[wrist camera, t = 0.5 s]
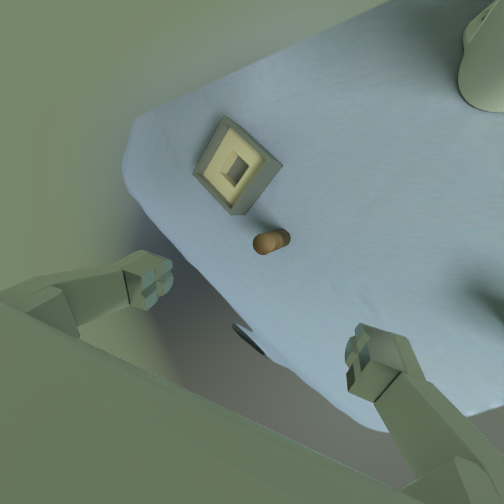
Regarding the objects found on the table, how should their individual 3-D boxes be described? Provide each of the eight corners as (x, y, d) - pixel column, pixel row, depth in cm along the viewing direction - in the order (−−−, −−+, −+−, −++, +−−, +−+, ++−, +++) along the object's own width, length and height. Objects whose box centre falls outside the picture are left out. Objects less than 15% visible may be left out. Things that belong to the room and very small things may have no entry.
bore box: (240, 126, 53) (224, 114, 47) (283, 165, 49) (271, 158, 43) (209, 177, 60) (192, 173, 54) (245, 215, 57) (230, 215, 51)
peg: (281, 225, 52) (261, 229, 42) (293, 238, 51) (276, 244, 41) (270, 238, 54) (249, 244, 44) (282, 250, 53) (262, 259, 43)
